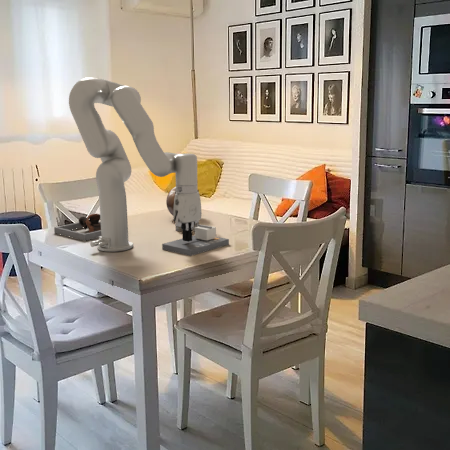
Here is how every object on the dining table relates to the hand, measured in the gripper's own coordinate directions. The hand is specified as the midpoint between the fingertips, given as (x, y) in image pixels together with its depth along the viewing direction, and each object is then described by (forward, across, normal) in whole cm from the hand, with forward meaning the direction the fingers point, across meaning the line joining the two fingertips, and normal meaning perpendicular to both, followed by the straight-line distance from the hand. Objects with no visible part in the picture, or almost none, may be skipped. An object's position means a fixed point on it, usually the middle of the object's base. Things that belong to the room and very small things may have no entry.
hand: (187, 240), depth 210 cm
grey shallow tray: (+4, -7, +49) cm, 49 cm away
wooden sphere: (+4, +36, +38) cm, 52 cm away
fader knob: (+1, +9, 0) cm, 9 cm away
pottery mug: (+4, -4, +49) cm, 50 cm away
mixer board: (+3, +4, 0) cm, 5 cm away
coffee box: (+3, +22, +22) cm, 31 cm away
